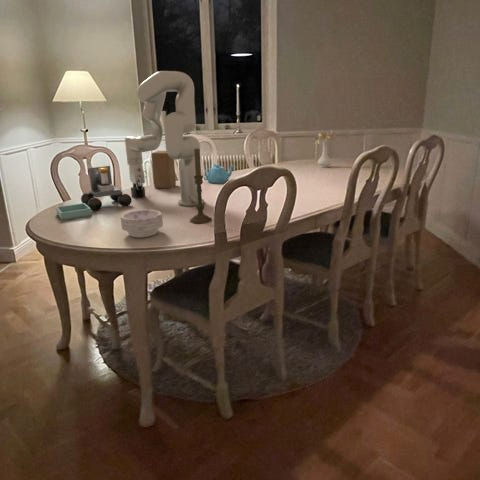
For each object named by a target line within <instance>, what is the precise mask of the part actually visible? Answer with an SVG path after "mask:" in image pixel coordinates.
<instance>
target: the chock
mask: <svg viewBox="0 0 480 480" xmlns="http://www.w3.org/2000/svg"><path fill="white" fill-rule="evenodd" d="M142 188H143V197H142V198H146V188H145V186H144V185H143V186H142ZM136 190H137V188H136V187H133V186H131V187H130V191H131V192H130V194H131V198H133V199H138V198H137V193H136Z"/></svg>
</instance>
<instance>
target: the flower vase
mask: <svg viewBox="0 0 480 480" xmlns="http://www.w3.org/2000/svg"><path fill="white" fill-rule="evenodd" d="M334 132H335V131H334V130H332V129H330V133H329V131H328V130H325V131H324V129H321V130H320V132H319V133H318V135H317V134H316V133H314V136H312V137H311V139H312V140H314V142H313V144H314V145H316V144H318V145H320V140H322V153H321V156H320V157H319V159H318V160H317V164H318V165H319V168H323V169H325V168H330V165H331V164H332V160H331V158H330V157H329V155H328V143H329V141H330V142H332V141H333V142H334V143H335V142H336V140H337V136H338V135H337V134H335V133H334Z"/></svg>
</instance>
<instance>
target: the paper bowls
mask: <svg viewBox="0 0 480 480" xmlns="http://www.w3.org/2000/svg"><path fill="white" fill-rule="evenodd" d="M163 220H164V219H163V213H162V212H161V211H160V210H155V209H154V210H153V209H143V210H133V211H128V212H126V213H123V214H121V215H120V223H121V229H122V230H123V231H125V232H127V233H128V235H129V236H131V237H133V238H137V239H139V238H141V239H143V238H149V237H153V236H155V235H156V234H158V230H159V229H160V228H161V229H162V227H163V225H164V223H163V222H164V221H163Z"/></svg>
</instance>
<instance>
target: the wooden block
mask: <svg viewBox="0 0 480 480" xmlns="http://www.w3.org/2000/svg"><path fill="white" fill-rule="evenodd" d="M150 155H151V156H150V157H151V163H152V167H151V168H152V178H153V186H154V188H155V189H171V188H173V187H175V186H176V184H177V183H176V182H177V181H176V170H175V159H172V158H170V157H169V155H168V153H167V151H166V150H156V151H153V152H151V154H150Z"/></svg>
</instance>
